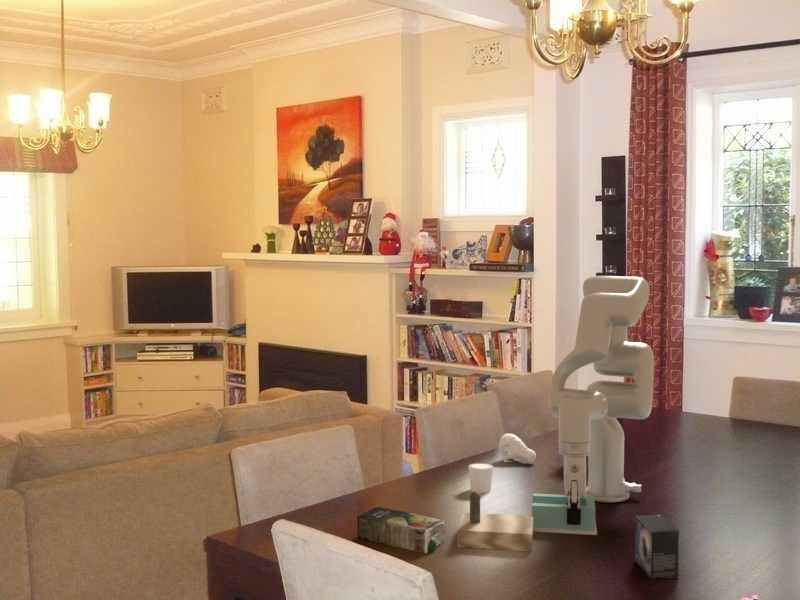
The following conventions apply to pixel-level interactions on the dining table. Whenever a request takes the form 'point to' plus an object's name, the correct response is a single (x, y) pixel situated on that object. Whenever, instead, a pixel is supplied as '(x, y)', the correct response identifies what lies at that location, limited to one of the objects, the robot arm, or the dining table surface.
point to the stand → (494, 529)
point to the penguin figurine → (515, 449)
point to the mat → (567, 531)
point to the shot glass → (480, 477)
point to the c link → (561, 512)
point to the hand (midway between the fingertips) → (573, 521)
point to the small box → (656, 546)
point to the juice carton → (401, 529)
